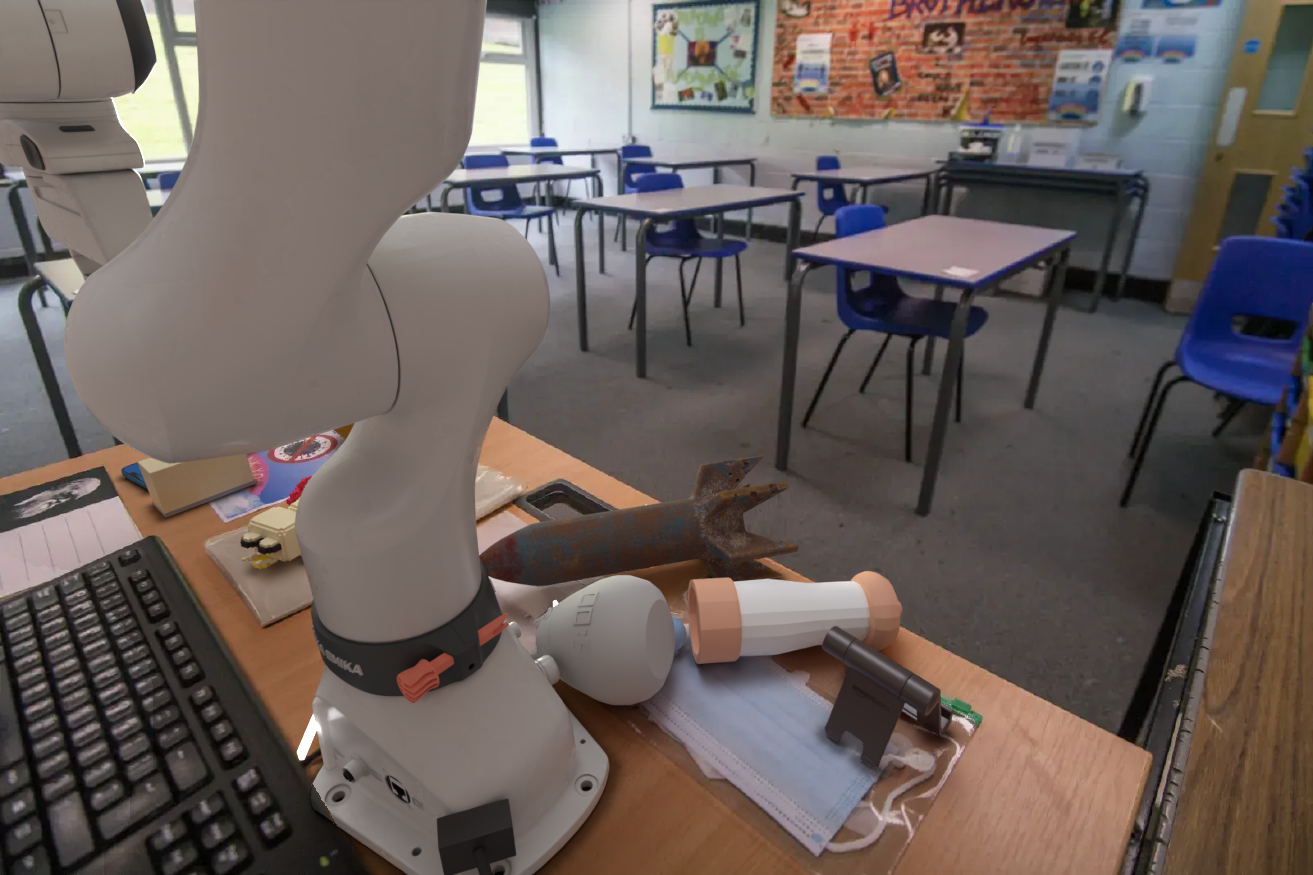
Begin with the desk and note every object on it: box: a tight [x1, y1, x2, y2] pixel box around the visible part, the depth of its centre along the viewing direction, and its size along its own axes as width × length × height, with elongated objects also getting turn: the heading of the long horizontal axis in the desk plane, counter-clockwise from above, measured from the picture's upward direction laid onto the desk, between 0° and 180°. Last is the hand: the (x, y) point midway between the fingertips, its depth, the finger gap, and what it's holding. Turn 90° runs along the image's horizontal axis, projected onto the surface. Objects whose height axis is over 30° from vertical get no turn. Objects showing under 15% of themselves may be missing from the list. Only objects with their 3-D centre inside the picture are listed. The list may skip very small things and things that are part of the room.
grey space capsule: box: [529, 574, 675, 706], centre depth 58 cm, size 10×10×12 cm
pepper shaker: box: [687, 570, 903, 665], centre depth 63 cm, size 7×7×19 cm
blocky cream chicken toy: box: [240, 475, 313, 570], centre depth 80 cm, size 10×9×25 cm
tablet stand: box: [821, 626, 955, 769], centre depth 54 cm, size 9×8×8 cm
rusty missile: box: [479, 455, 799, 587], centre depth 69 cm, size 12×12×30 cm
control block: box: [137, 454, 256, 518], centre depth 84 cm, size 4×10×6 cm, turn 140°
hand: (118, 301), depth 64 cm, fingers open, 8 cm apart
